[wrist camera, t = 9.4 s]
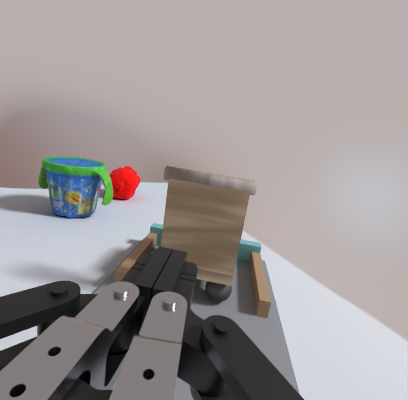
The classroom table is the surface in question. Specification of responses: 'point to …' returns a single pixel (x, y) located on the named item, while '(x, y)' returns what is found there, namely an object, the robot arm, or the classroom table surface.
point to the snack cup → (75, 185)
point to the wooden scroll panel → (207, 223)
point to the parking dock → (230, 304)
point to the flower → (124, 182)
